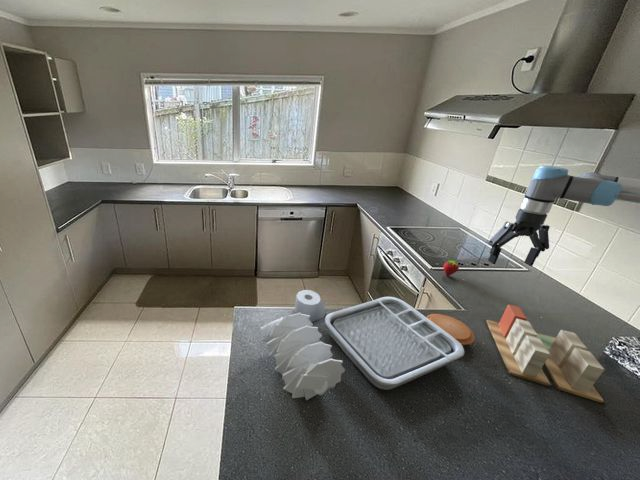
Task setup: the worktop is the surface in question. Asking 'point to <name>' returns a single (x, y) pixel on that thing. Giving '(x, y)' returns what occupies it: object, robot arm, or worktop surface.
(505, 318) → the red rectangular block
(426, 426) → the worktop surface
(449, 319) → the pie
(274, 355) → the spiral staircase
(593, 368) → the cubes on wooden plank
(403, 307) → the dish rack
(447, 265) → the strawberry
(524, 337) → the wooden base with cubes
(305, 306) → the toilet tissue
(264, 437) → the worktop surface
